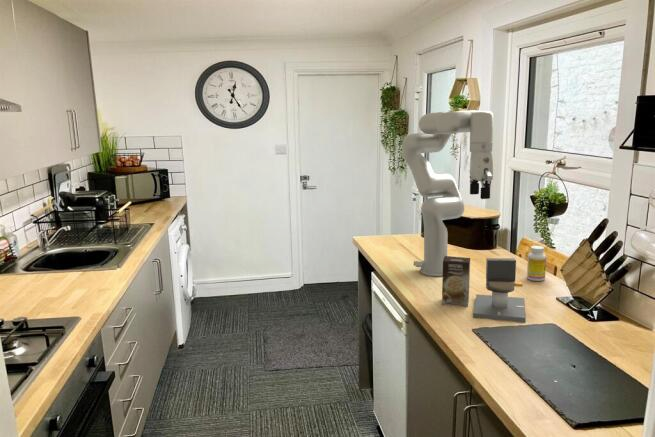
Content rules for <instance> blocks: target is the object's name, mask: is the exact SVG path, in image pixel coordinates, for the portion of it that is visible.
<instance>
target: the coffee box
mask: <svg viewBox="0 0 655 437" xmlns="http://www.w3.org/2000/svg"><path fill="white" fill-rule="evenodd" d="M470 273H471V257H463V256H462V257H461V256H450V255H447V256H445V257H444V259H443V276H442V282H441V284H442V285H441V287H442V288H441V289H442V290H441V292H442V293H441V305H443V306H444V305H445V306H454V307H455V306H456V307H464V308H468V307H469V301H470V281H471V279H470V278H471V275H470Z"/></svg>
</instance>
